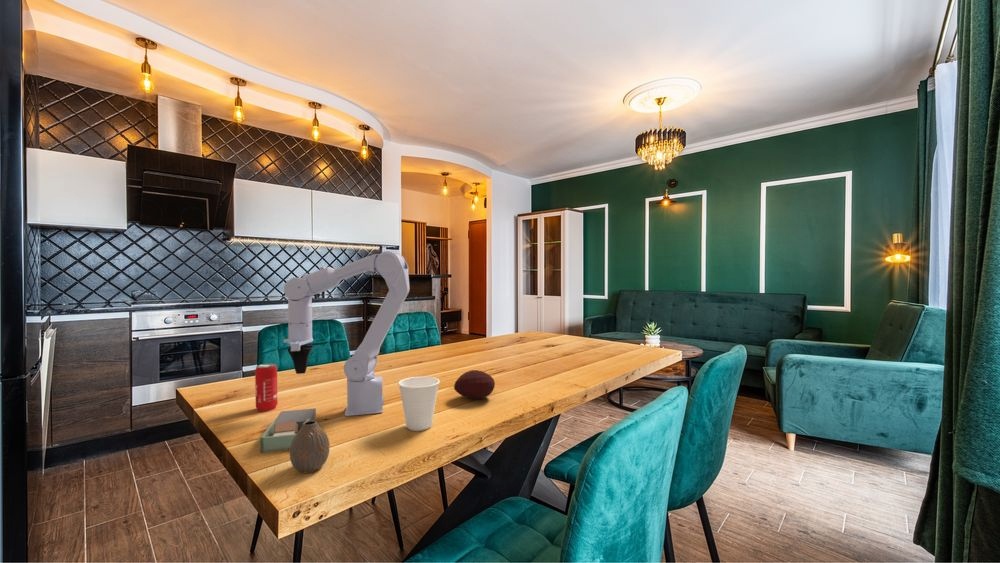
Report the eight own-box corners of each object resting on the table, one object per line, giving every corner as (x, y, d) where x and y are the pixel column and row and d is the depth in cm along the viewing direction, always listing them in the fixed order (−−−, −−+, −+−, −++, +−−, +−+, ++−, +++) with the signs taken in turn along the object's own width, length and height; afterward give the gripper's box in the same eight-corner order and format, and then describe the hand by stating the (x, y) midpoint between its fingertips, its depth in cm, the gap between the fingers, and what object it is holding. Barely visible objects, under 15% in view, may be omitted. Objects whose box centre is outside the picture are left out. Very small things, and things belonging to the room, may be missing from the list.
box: (310, 431, 94) (309, 418, 94) (302, 448, 85) (302, 434, 85) (272, 435, 92) (271, 422, 92) (260, 452, 83) (260, 438, 83)
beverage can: (267, 412, 107) (267, 368, 107) (251, 411, 108) (250, 367, 108) (281, 406, 112) (281, 363, 112) (265, 405, 113) (265, 362, 113)
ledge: (315, 417, 103) (315, 408, 103) (310, 431, 94) (309, 420, 94) (281, 421, 101) (281, 411, 101) (272, 435, 92) (271, 424, 92)
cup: (446, 421, 100) (446, 378, 100) (427, 437, 91) (427, 389, 91) (412, 417, 104) (412, 374, 103) (389, 431, 94) (389, 385, 94)
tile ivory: (291, 437, 86) (291, 445, 86) (295, 430, 89) (295, 438, 89) (270, 439, 84) (270, 448, 84) (275, 432, 88) (275, 440, 88)
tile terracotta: (297, 433, 92) (298, 425, 93) (294, 429, 89) (295, 421, 90) (278, 435, 91) (279, 427, 92) (274, 432, 88) (275, 423, 89)
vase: (281, 473, 75) (280, 426, 74) (310, 457, 81) (310, 414, 81) (309, 480, 72) (308, 431, 72) (337, 463, 79) (337, 418, 78)
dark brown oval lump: (502, 398, 119) (502, 370, 119) (475, 408, 111) (475, 378, 111) (475, 391, 127) (475, 364, 127) (448, 399, 118) (448, 371, 118)
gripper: (289, 320, 113) (290, 367, 114) (277, 326, 99) (277, 381, 100) (316, 319, 115) (317, 366, 116) (308, 325, 101) (308, 378, 102)
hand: (300, 373), depth 108 cm, fingers closed
